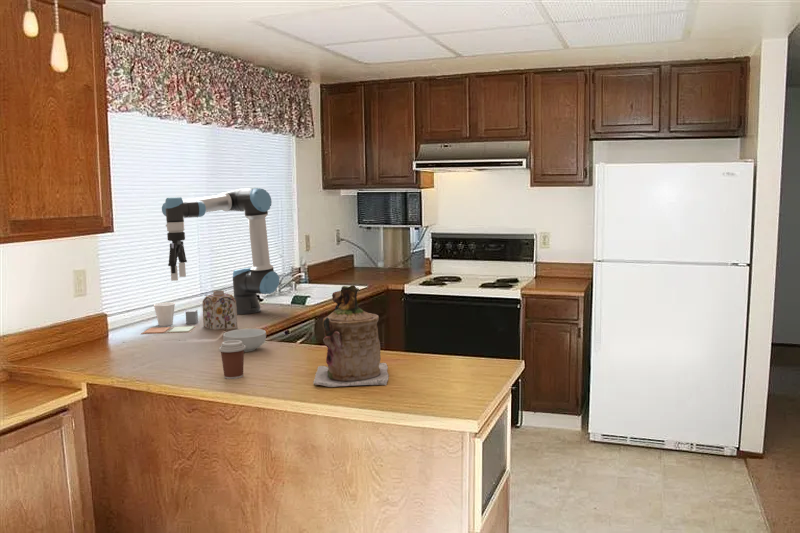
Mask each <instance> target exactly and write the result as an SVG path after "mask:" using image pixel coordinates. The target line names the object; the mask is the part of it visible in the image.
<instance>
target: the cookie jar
mask: <svg viewBox="0 0 800 533" xmlns="http://www.w3.org/2000/svg"><path fill="white" fill-rule="evenodd" d="M359 291H360V289H359V288H358V287H357V286H355V284H351V285H349V286H347V285H343V286H342V287H341V289H340V290H337V291H334V292H333V293H332V294H331V296H332V301H333V302H334V303H336V305H335V307H334V310H333V311H332V312H331V313H330V314H329V315H328V316H325V317H323V319H322V322H321V323H322V328H323V335H324V336H323V337H324V338H323V340H322V341H323V343H324V344H325V346H326V348H327V351H326V357H325V358H326V361H325V363H326V364H327V366H325V365H318V367H317V369H316V370H317V371H316V372H315V375H314V380H313V382H312V383H313V386H315V385H320V386H322V387H323V386H325V387H329V388H333V387H334V388H336V387H350V386H378V385H379V386H388V385H387V383H388V381H389V377H390V375H389V373H388V372H389V371H388V369H389V368H388V367H389V366H388V365H387V363H386V362H381V357H382V356H381V342H380V339H379V328H378V322H379V319H380V317H379V315H378V314H376V313H371V312H367V311H365V310H363V309H362V308H360V307H359V306H358V298H357V296H358V295H357V294H358V292H359Z"/></svg>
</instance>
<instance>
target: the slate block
mask: <svg viewBox="0 0 800 533" xmlns="http://www.w3.org/2000/svg"><path fill="white" fill-rule="evenodd" d="M198 314H199V313H198V309H188V310H186V311H185V322H186V323H185V324H186V325H192V324H197V323H198V322H199V318H198V317H199V315H198Z"/></svg>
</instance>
